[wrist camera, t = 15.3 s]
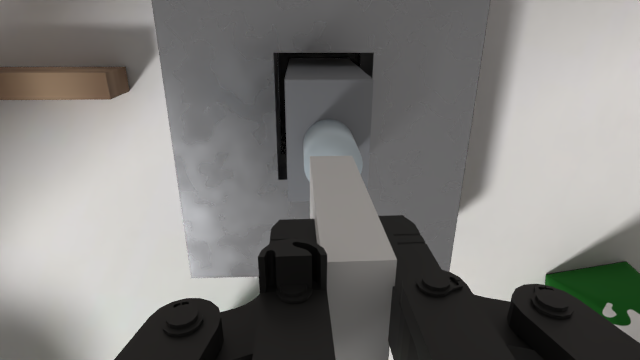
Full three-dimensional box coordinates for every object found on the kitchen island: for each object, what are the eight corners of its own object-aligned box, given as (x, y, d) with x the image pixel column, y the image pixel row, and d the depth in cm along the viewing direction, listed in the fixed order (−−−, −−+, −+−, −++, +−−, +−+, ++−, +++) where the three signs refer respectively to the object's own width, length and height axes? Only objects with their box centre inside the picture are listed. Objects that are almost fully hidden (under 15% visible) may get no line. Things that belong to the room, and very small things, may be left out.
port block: (206, 240, 32) (189, 281, 27) (168, -82, 24) (133, -108, 19) (427, 235, 33) (451, 274, 28) (466, -78, 24) (509, -101, 19)
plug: (291, 143, 29) (286, 231, 17) (289, 58, 27) (281, 91, 15) (345, 142, 29) (377, 229, 17) (348, 58, 27) (387, 91, 15)
